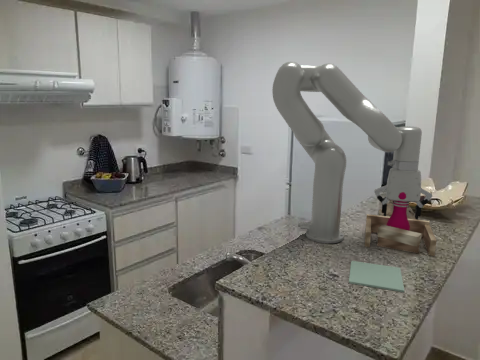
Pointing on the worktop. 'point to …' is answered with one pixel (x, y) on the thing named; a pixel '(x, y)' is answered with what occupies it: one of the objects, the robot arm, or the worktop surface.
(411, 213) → the clay tablet
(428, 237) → the oak rack
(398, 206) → the pepper mill
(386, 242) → the walnut offcut
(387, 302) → the worktop surface
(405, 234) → the birch offcut
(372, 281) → the green mat
